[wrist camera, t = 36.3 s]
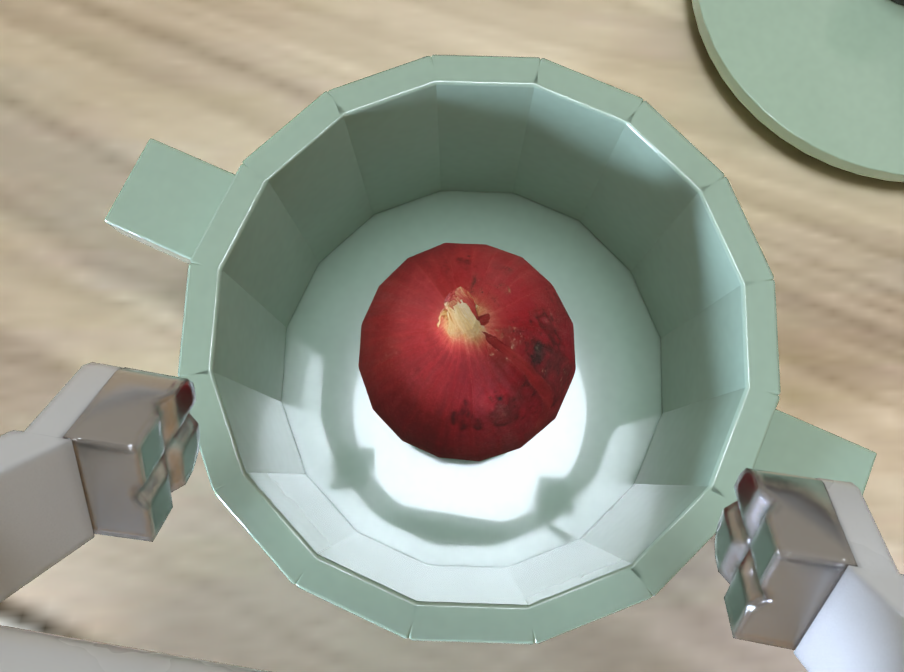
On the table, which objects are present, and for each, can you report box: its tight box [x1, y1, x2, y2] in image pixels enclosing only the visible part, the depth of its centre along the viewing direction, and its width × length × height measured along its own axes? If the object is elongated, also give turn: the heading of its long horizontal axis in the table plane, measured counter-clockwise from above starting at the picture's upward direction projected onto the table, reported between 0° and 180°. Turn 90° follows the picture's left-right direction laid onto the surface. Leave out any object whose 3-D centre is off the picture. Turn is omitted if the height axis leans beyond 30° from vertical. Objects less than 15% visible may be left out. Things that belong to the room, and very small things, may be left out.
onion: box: [358, 243, 576, 461], centre depth 20 cm, size 6×6×8 cm
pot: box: [105, 55, 876, 644], centre depth 21 cm, size 14×19×8 cm
